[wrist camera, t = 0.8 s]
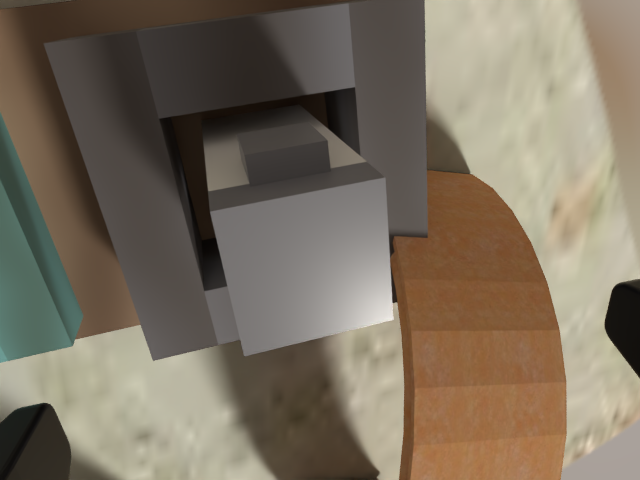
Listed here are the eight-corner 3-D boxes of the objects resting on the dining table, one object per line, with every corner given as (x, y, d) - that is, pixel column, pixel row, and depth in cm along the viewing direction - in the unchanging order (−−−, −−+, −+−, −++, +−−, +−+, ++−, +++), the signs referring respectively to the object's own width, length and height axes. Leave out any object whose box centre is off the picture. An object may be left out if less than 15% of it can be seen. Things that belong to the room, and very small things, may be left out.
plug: (222, 212, 19) (244, 356, 11) (196, 100, 17) (201, 177, 9) (311, 194, 19) (393, 319, 12) (296, 85, 18) (383, 144, 10)
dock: (-183, 384, 19) (-296, 496, 15) (-431, 62, 14) (-729, 86, 9) (392, 255, 23) (441, 313, 18) (377, -35, 17) (441, -51, 13)
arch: (290, 501, 28) (337, 726, 19) (357, 161, 20) (485, 268, 11) (383, 492, 29) (467, 695, 20) (476, 174, 22) (669, 277, 13)
